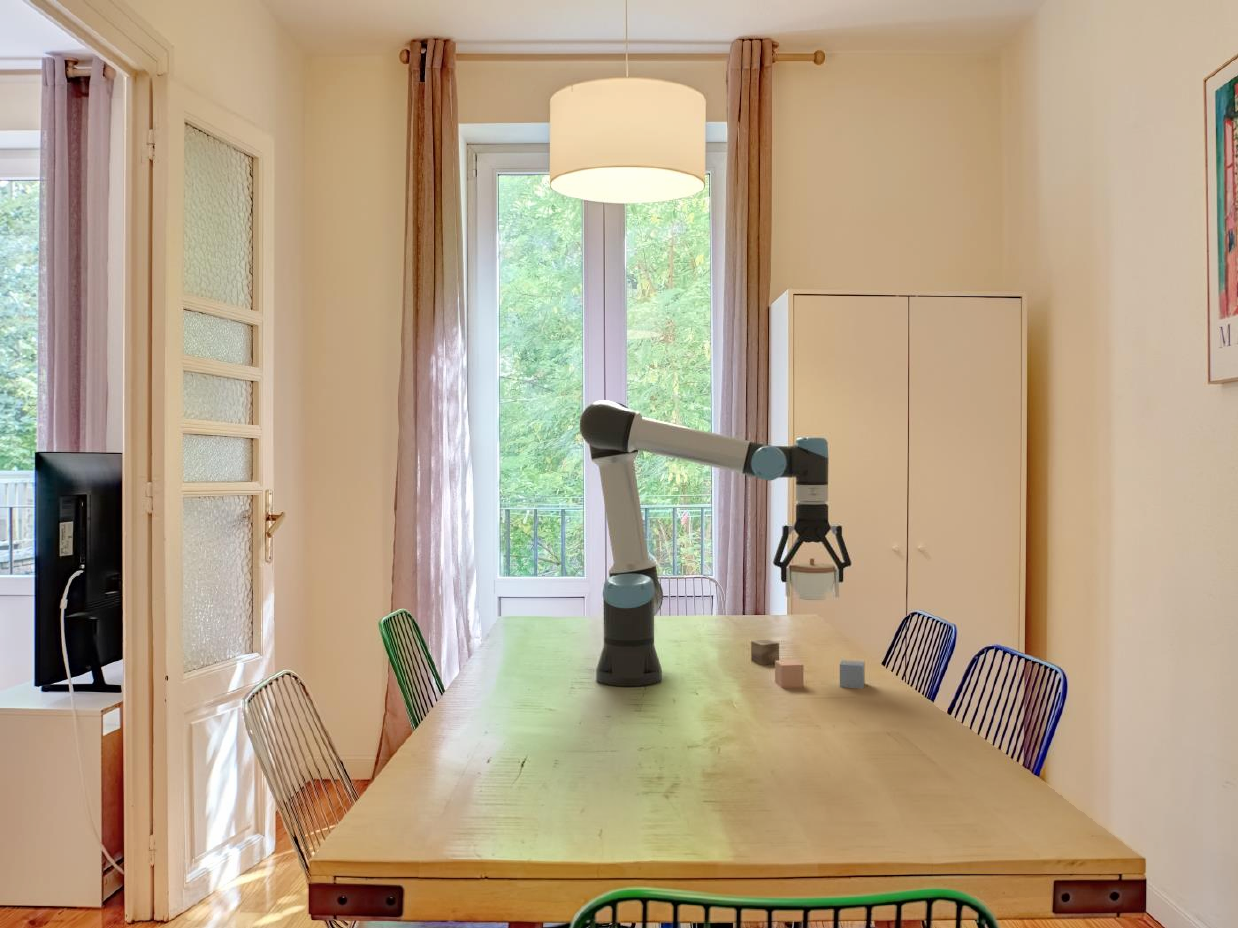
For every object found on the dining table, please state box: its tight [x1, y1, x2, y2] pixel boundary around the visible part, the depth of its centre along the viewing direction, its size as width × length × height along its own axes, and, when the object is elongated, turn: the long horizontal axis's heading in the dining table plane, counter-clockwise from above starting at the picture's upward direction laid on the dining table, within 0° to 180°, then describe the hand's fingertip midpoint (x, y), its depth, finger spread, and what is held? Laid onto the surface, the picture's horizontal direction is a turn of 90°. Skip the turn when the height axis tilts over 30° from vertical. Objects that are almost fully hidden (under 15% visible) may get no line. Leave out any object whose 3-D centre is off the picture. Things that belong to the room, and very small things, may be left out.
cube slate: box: [839, 659, 866, 689], centre depth 220 cm, size 5×5×5 cm
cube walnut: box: [750, 639, 780, 666], centre depth 243 cm, size 5×5×5 cm
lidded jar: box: [788, 557, 836, 601], centre depth 232 cm, size 11×11×9 cm
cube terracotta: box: [774, 659, 804, 689], centre depth 220 cm, size 5×5×5 cm
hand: (811, 596), depth 232 cm, fingers closed on lidded jar, 11 cm apart
